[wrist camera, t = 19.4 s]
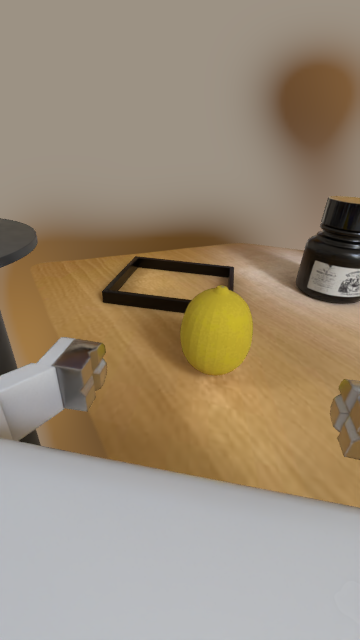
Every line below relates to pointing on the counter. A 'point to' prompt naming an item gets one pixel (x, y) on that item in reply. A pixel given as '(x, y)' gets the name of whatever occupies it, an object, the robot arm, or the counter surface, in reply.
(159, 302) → the black square frame
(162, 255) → the counter surface
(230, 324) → the lemon
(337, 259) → the ink bottle
